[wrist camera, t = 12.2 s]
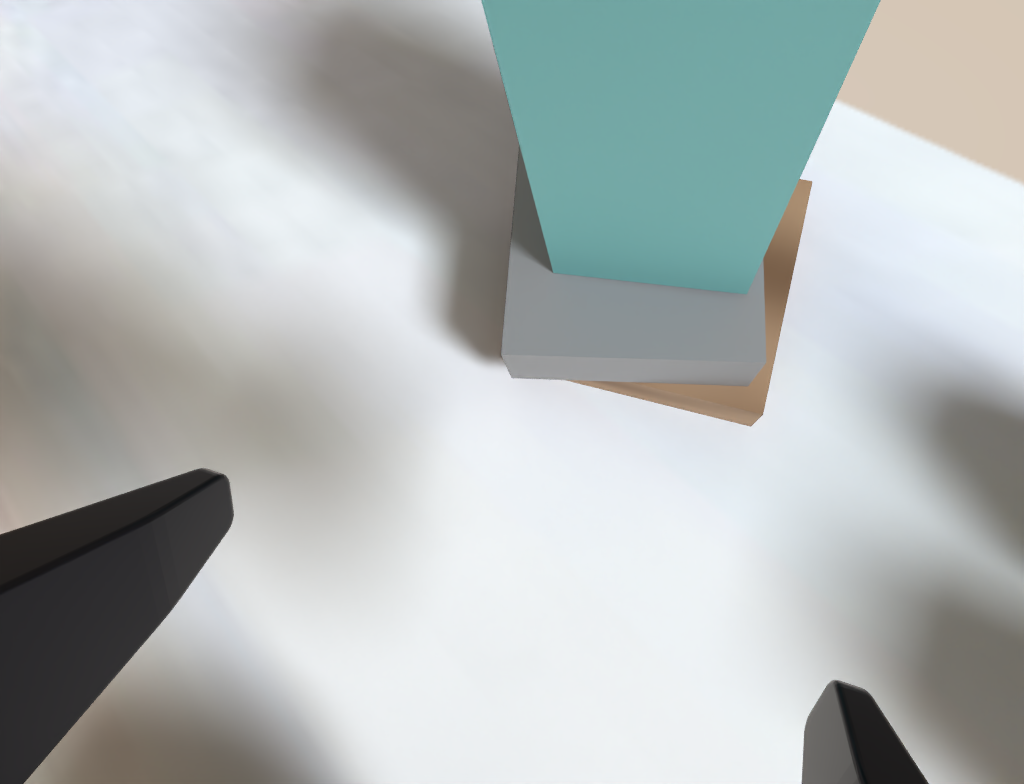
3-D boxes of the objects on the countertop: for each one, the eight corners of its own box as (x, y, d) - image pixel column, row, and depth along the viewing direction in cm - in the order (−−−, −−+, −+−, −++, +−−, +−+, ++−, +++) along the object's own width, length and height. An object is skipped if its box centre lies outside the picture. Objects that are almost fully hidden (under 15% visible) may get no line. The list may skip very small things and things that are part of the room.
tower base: (746, 430, 23) (763, 414, 21) (513, 372, 25) (504, 350, 23) (792, 218, 25) (812, 181, 23) (574, 178, 27) (571, 139, 25)
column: (747, 294, 19) (935, -122, 7) (553, 272, 21) (451, -112, 9) (768, 122, 21) (960, -469, 9) (584, 112, 22) (533, -415, 10)
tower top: (748, 386, 21) (766, 362, 19) (511, 378, 23) (500, 354, 20) (743, 177, 23) (759, 132, 21) (527, 180, 25) (520, 138, 22)
